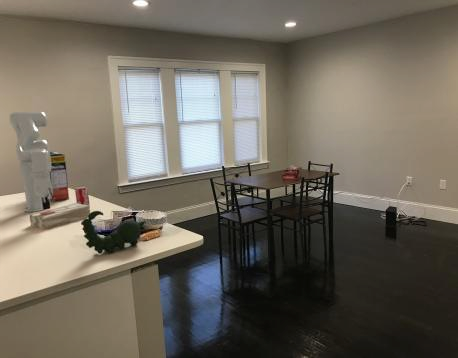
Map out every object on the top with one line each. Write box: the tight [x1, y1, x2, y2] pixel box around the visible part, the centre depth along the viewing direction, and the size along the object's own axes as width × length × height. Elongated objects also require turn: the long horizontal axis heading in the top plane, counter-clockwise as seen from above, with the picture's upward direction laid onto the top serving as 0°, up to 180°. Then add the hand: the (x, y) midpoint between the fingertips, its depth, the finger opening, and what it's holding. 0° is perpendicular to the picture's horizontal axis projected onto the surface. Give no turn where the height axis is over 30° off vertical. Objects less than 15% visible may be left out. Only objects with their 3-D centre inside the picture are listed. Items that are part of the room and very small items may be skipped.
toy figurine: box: [81, 210, 146, 255], centre depth 149 cm, size 9×19×25 cm
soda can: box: [74, 186, 91, 207], centre depth 223 cm, size 7×7×13 cm
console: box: [28, 202, 91, 230], centre depth 198 cm, size 14×26×6 cm, turn 145°
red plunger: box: [40, 209, 55, 215], centre depth 193 cm, size 5×5×4 cm
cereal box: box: [50, 151, 70, 202], centre depth 258 cm, size 27×11×32 cm, turn 34°
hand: (46, 209), depth 192 cm, fingers closed
